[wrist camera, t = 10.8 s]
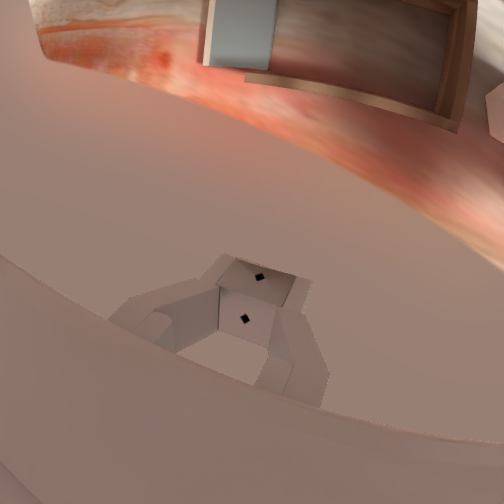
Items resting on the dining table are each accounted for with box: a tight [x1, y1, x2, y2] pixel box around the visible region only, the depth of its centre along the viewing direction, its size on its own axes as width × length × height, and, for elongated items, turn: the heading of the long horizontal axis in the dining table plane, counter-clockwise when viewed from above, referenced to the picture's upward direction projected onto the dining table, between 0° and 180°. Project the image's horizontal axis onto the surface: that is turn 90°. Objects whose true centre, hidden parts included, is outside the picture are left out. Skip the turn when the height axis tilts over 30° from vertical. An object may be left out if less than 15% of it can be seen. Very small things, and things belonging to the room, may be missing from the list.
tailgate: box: [203, 0, 278, 71], centre depth 30 cm, size 1×11×8 cm
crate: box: [244, 0, 478, 134], centre depth 24 cm, size 20×14×8 cm
